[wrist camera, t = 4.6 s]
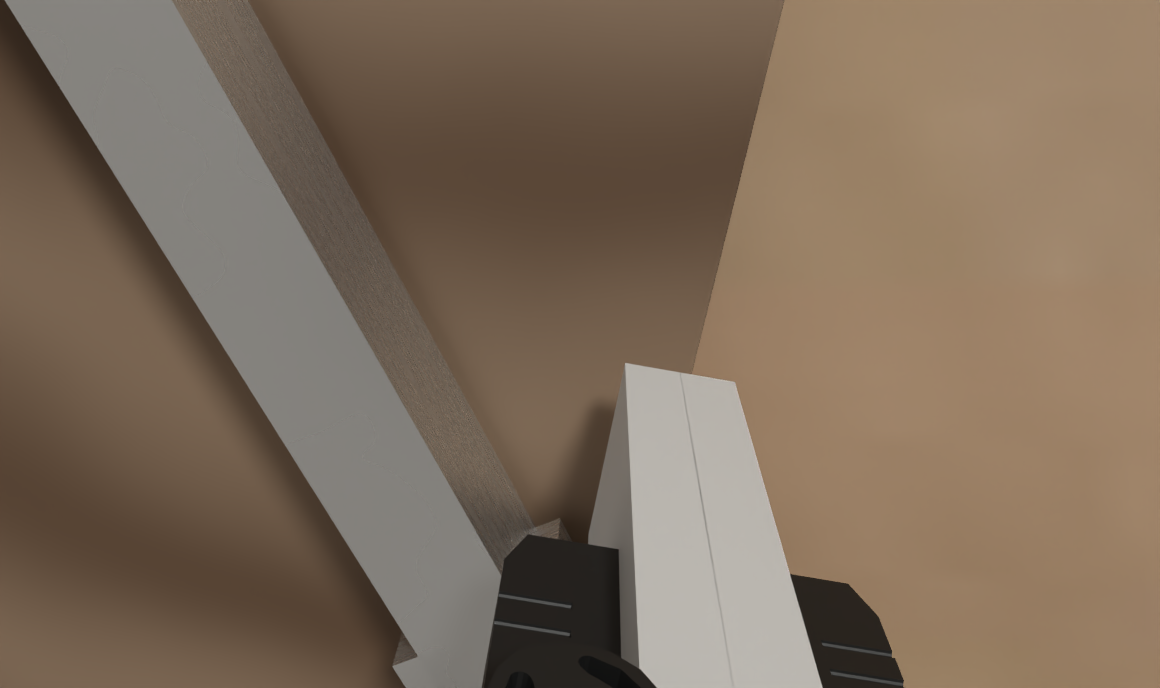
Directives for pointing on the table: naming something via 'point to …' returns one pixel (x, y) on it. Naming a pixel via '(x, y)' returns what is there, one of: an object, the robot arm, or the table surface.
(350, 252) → the tong jaw
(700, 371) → the table surface
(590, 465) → the board
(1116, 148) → the table surface
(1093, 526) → the table surface
